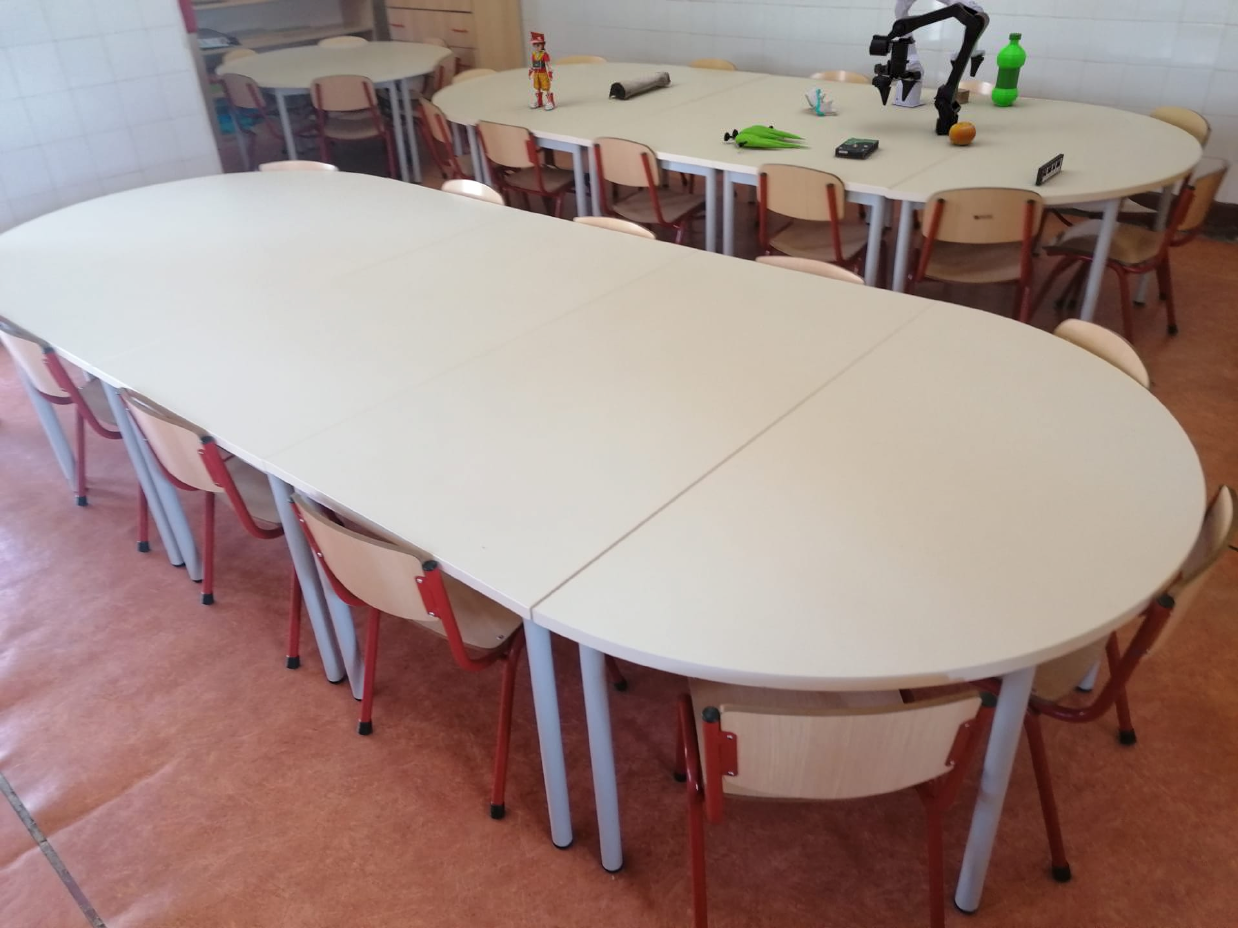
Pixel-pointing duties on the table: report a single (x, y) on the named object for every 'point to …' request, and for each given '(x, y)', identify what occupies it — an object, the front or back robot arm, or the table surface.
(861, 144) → the disk drive
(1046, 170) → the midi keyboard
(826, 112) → the anatomical model
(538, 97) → the toy
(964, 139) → the fruit
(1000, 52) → the plastic bottle
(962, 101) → the block
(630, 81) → the rolled mat
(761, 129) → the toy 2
